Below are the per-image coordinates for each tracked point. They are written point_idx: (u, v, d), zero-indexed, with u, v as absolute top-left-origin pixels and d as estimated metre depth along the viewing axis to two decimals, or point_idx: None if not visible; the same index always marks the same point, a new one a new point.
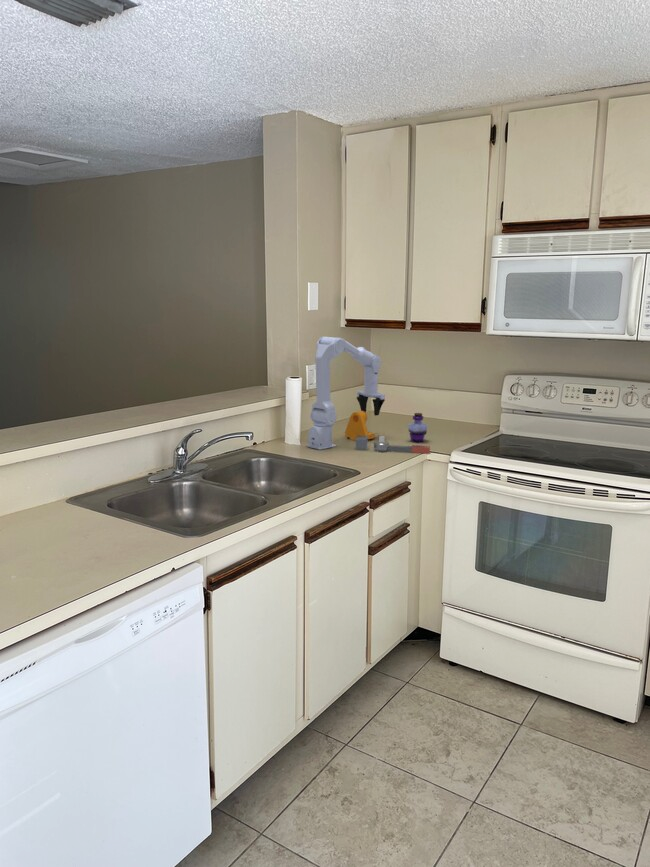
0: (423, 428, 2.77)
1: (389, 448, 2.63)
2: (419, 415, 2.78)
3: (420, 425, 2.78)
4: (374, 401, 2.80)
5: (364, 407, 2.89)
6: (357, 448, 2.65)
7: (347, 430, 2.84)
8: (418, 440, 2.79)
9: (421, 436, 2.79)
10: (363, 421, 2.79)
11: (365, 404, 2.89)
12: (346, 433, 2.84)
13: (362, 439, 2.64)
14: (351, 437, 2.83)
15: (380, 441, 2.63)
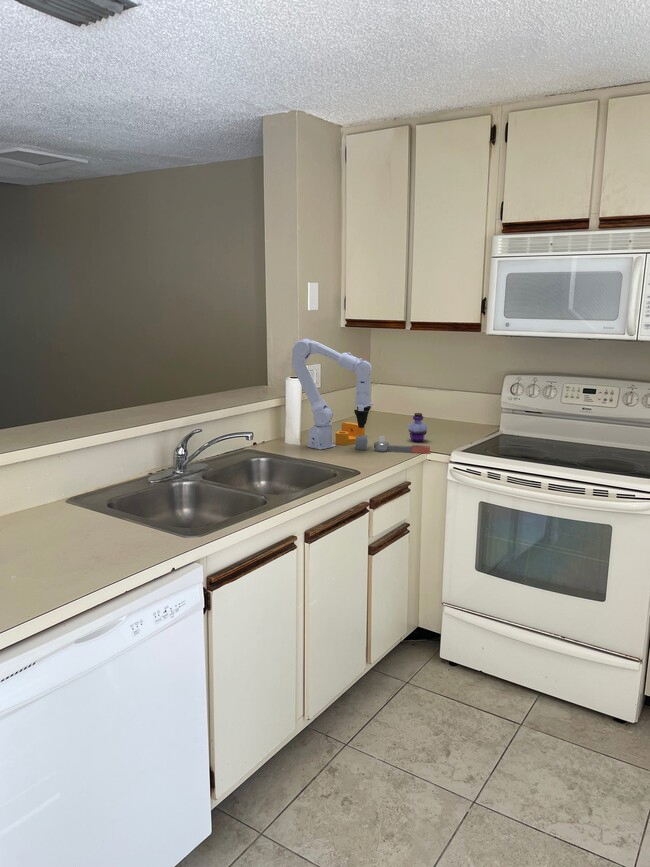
0: (423, 428, 2.77)
1: (389, 448, 2.63)
2: (419, 415, 2.78)
3: (420, 425, 2.78)
4: None
5: None
6: (357, 448, 2.65)
7: None
8: (418, 440, 2.79)
9: (421, 436, 2.79)
10: (349, 441, 2.74)
11: (365, 415, 2.68)
12: None
13: (362, 439, 2.64)
14: None
15: (380, 441, 2.63)
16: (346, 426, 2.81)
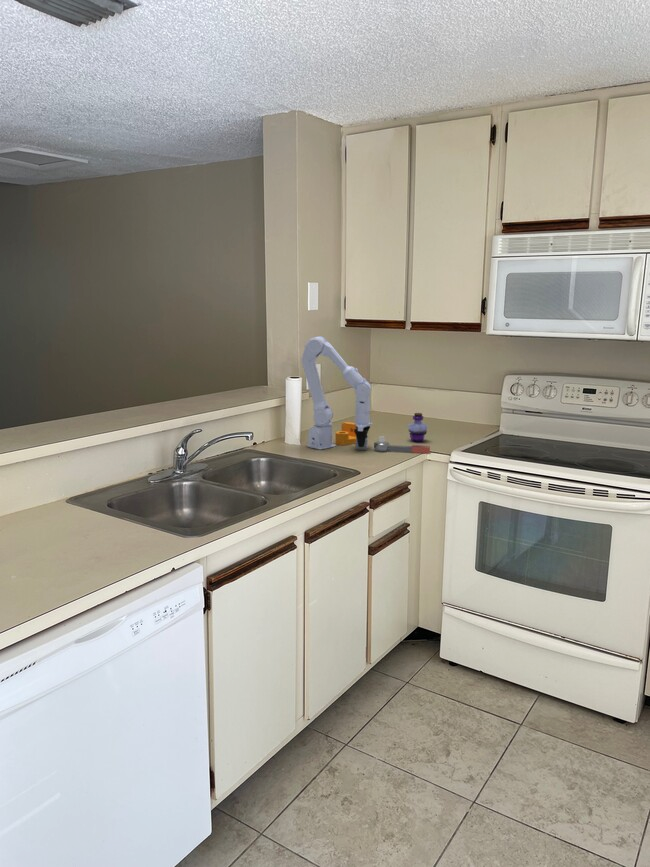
0: (423, 428, 2.77)
1: (389, 448, 2.63)
2: (419, 415, 2.78)
3: (420, 425, 2.78)
4: None
5: None
6: (357, 448, 2.65)
7: None
8: (418, 440, 2.79)
9: (421, 436, 2.79)
10: (349, 441, 2.74)
11: None
12: None
13: None
14: None
15: (380, 441, 2.63)
16: (346, 426, 2.81)
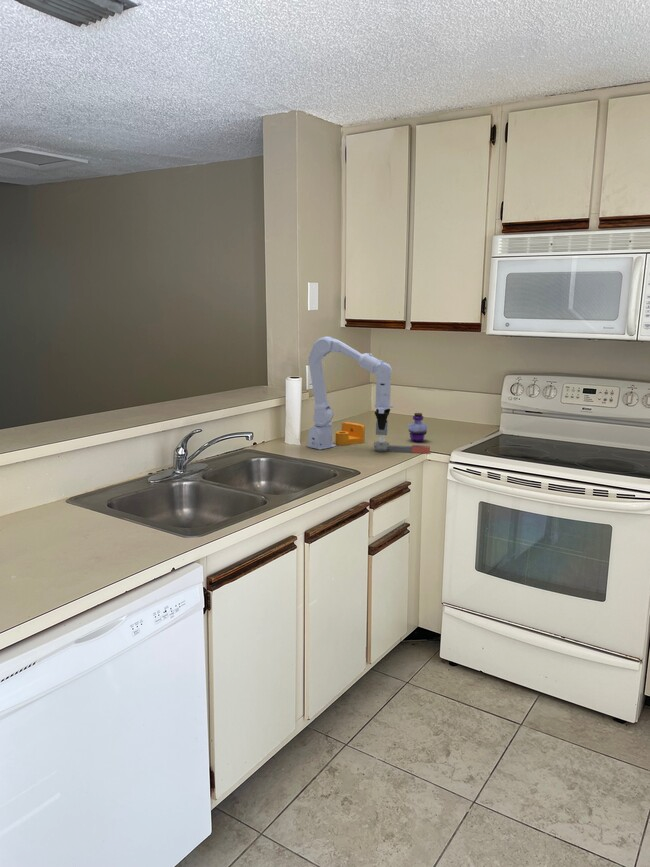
0: (423, 428, 2.77)
1: (389, 448, 2.63)
2: (419, 415, 2.78)
3: (420, 425, 2.78)
4: (375, 413, 2.59)
5: None
6: (377, 433, 2.61)
7: None
8: (418, 440, 2.79)
9: (421, 436, 2.79)
10: (349, 441, 2.74)
11: None
12: None
13: None
14: None
15: (380, 441, 2.63)
16: (346, 426, 2.81)
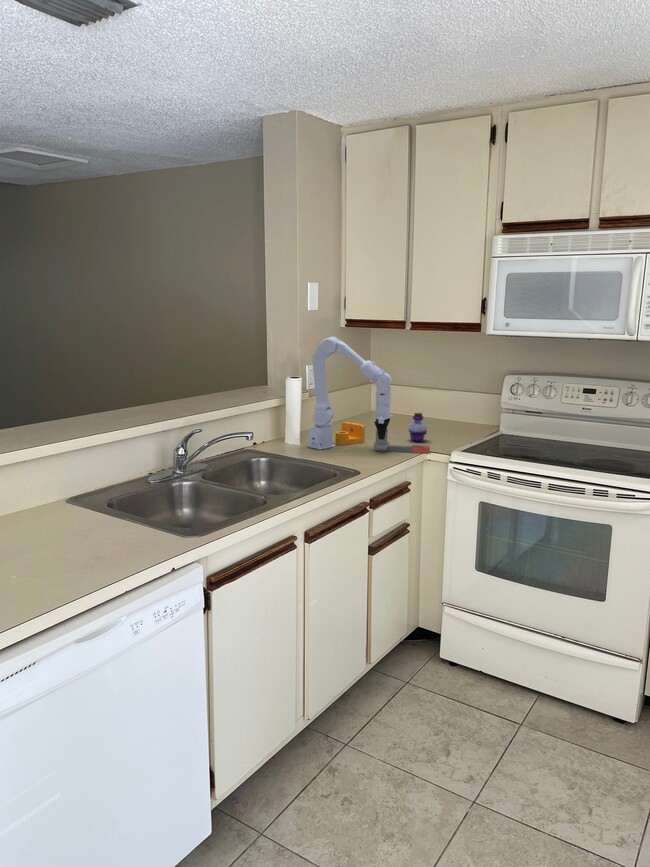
0: (423, 428, 2.77)
1: (389, 448, 2.63)
2: (419, 415, 2.78)
3: (420, 425, 2.78)
4: (375, 423, 2.59)
5: None
6: (377, 442, 2.62)
7: None
8: (418, 440, 2.79)
9: (421, 436, 2.79)
10: (349, 441, 2.74)
11: None
12: None
13: None
14: None
15: None
16: (346, 426, 2.81)
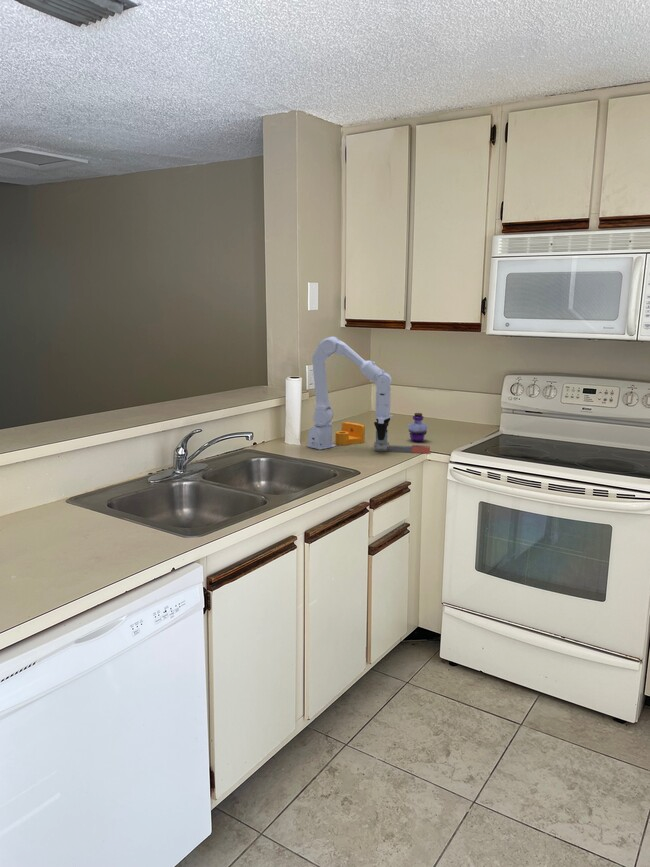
0: (423, 428, 2.77)
1: (389, 448, 2.63)
2: (419, 415, 2.78)
3: (420, 425, 2.78)
4: None
5: None
6: (377, 442, 2.62)
7: None
8: (418, 440, 2.79)
9: (421, 436, 2.79)
10: (349, 441, 2.74)
11: None
12: None
13: None
14: None
15: None
16: (346, 426, 2.81)
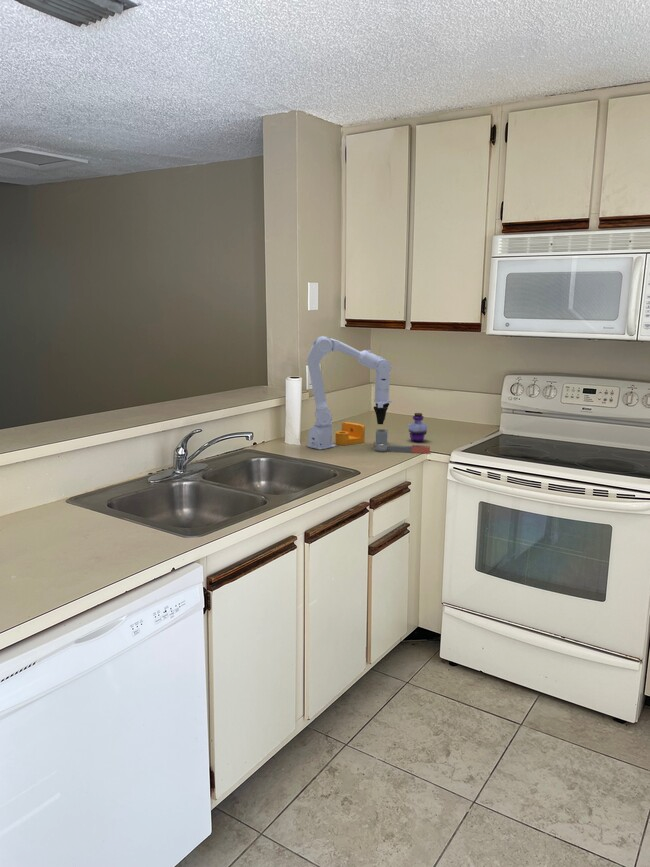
0: (423, 428, 2.77)
1: (389, 448, 2.63)
2: (419, 415, 2.78)
3: (420, 425, 2.78)
4: (374, 408, 2.64)
5: None
6: (377, 442, 2.62)
7: None
8: (418, 440, 2.79)
9: (421, 436, 2.79)
10: (349, 441, 2.74)
11: None
12: None
13: (382, 433, 2.61)
14: None
15: None
16: (346, 426, 2.81)
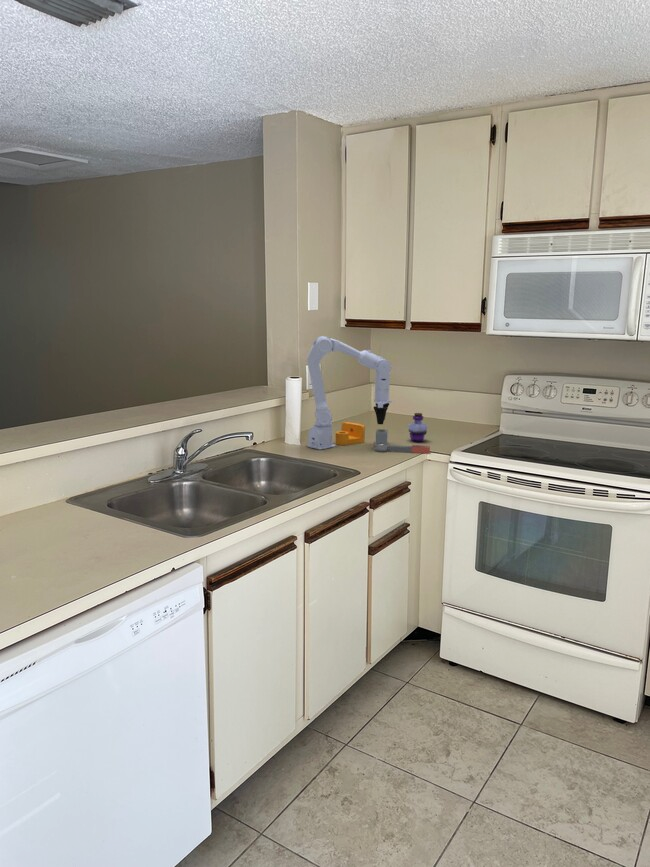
0: (423, 428, 2.77)
1: (389, 448, 2.63)
2: (419, 415, 2.78)
3: (420, 425, 2.78)
4: (374, 408, 2.64)
5: None
6: (377, 442, 2.62)
7: None
8: (418, 440, 2.79)
9: (421, 436, 2.79)
10: (349, 441, 2.74)
11: None
12: None
13: (382, 433, 2.61)
14: None
15: None
16: (346, 426, 2.81)
